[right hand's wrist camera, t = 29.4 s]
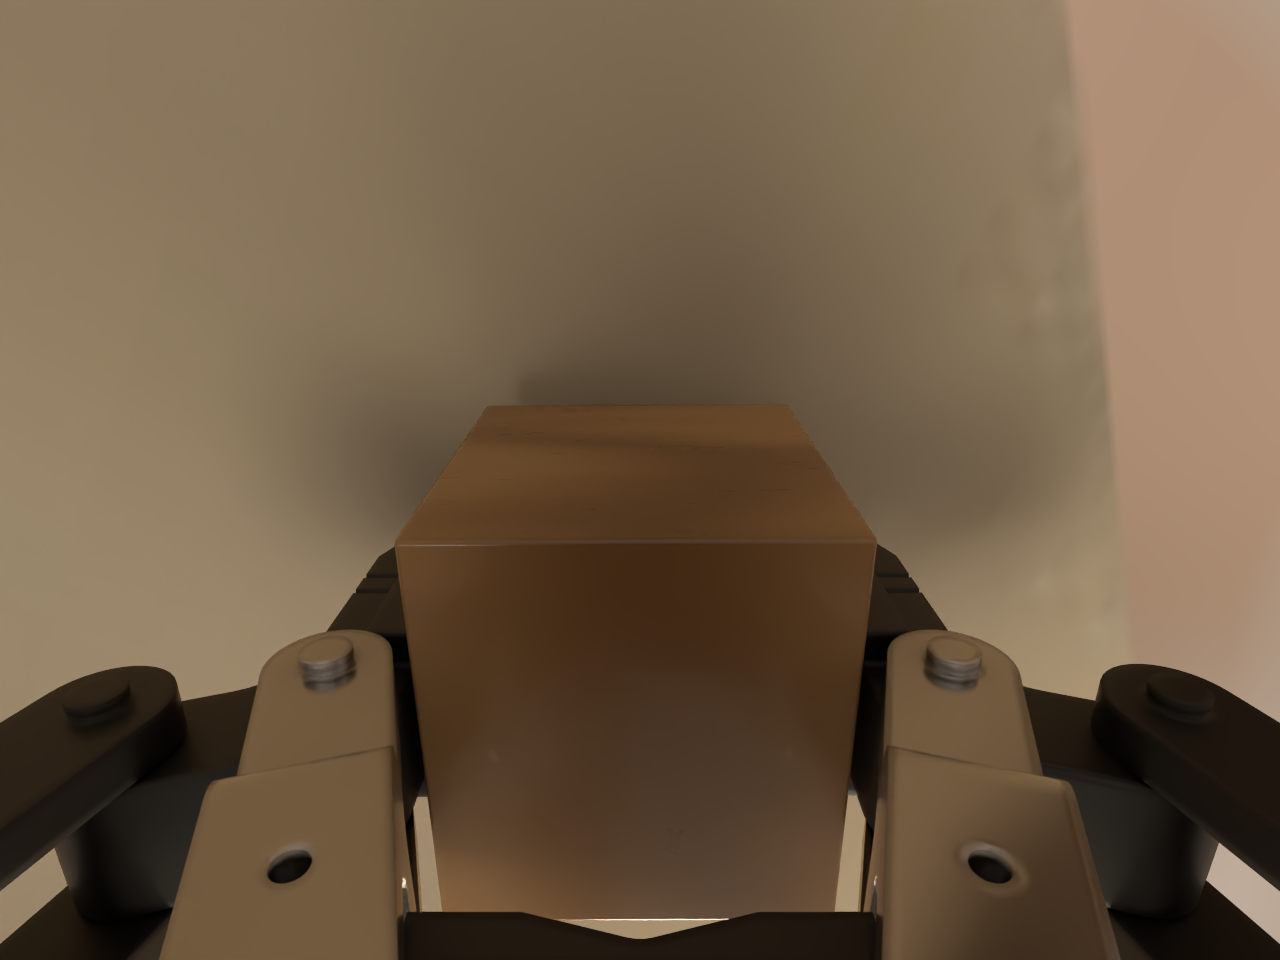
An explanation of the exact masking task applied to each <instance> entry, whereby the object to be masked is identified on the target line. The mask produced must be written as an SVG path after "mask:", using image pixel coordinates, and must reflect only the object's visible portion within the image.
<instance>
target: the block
mask: <svg viewBox="0 0 1280 960" xmlns="http://www.w3.org/2000/svg"><path fill="white" fill-rule="evenodd" d="M876 548H877V540H876V537H875V536H874V534H873V533H872V531H871V530H870V528H869V527H868V525H867V524H866V522H865V521H864V519H863V518H862V516H861V515H860V513H859V512H858V510H857V509H856V507H855V506H854V504H853V503H852V501H851V500H850V498H849V497H848V495H847V494H846V492H845V491H844V489H843V488H842V486H841V485H840V483H839V482H838V481H837V479H836V478H835V476H834V475H833V473H832V472H831V470H830V469H829V467H828V466H827V464H826V463H825V461H824V460H823V458H822V457H821V455H820V454H819V452H818V451H817V449H816V448H815V446H814V445H813V443H812V442H811V440H810V439H809V437H808V436H807V434H806V433H805V431H804V430H803V428H802V427H801V425H800V424H799V422H798V421H797V419H796V418H795V416H794V415H793V413H792V412H791V410H790V409H789V407H788V406H787V405H610V406H489V407H487V408H486V410H485V411H484V413H483V414H482V416H481V417H480V418H479V420H478V421H477V423H476V424H475V426H474V427H473V429H472V430H471V432H470V433H469V434H468V436H467V437H466V439H465V440H464V442H463V443H462V445H461V446H460V448H459V449H458V450H457V452H456V453H455V455H454V456H453V458H452V459H451V461H450V462H449V464H448V465H447V466H446V468H445V469H444V471H443V472H442V474H441V475H440V477H439V478H438V479H437V481H436V482H435V484H434V485H433V487H432V488H431V490H430V491H429V493H428V494H427V495H426V497H425V498H424V500H423V501H422V503H421V504H420V506H419V507H418V509H417V510H416V511H415V513H414V514H413V516H412V517H411V519H410V520H409V522H408V523H407V525H406V526H405V527H404V529H403V530H402V532H401V533H400V535H399V536H398V538H397V539H396V541H395V551H396V559H397V567H398V574H399V582H400V590H401V597H402V605H403V613H404V620H405V628H406V636H407V643H408V651H409V658H410V666H411V674H412V681H413V689H414V697H415V704H416V712H417V720H418V727H419V735H420V743H421V750H422V758H423V766H424V773H425V781H426V789H427V796H428V804H429V812H430V819H431V827H432V835H433V842H434V850H435V857H436V865H437V873H438V880H439V888H440V896H441V903H442V911H443V912H524V913H528V914H532V915H537V916H541V917H545V918H549V919H553V920H557V921H597V920H727V919H731V918H735V917H739V916H743V915H748V914H752V913H756V912H835V903H836V895H837V886H838V877H839V869H840V860H841V851H842V843H843V834H844V825H845V817H846V808H847V799H848V791H849V782H850V773H851V765H852V756H853V747H854V738H855V730H856V721H857V712H858V704H859V695H860V686H861V678H862V669H863V660H864V652H865V643H866V634H867V626H868V617H869V608H870V600H871V591H872V582H873V574H874V565H875V556H876Z"/></svg>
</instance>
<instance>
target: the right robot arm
mask: <svg viewBox="0 0 1280 960" xmlns="http://www.w3.org/2000/svg"><path fill="white" fill-rule="evenodd" d="M366 575H367V577H366V578H364V579H363V580H362V582H361V583H360V584H359V586H358V587H357V589H356V593H353V594H352V596H351V597H350V599H349V600H348V602H347V603H346V604H345V606H344V607H343V609H342V610H341V612H340V613H339V614H338V616H337V617H336V619H335V620H334V622H333V623H332V624H331V626H330V627H329V629H328V630H327V632H324V633H319V634H315V635H312V636H308V637H306V638H303V639H300V640H298V641H296V642H294V643H292V644H289V645H288V646H286V647H284V648H283V649H281V650H280V651H278V652H277V653H276V654H274V655H273V656H272V657H271V658H270V659H269V660H268V661H267V662H266V664H265V665H264V666H263V668H262V670H261V673H260V677H259V681H258V685H256V686H253V687H250V688H246V689H242V690H238V691H233V692H228V693H223V694H218V695H212V696H207V697H202V698H197V699H191V700H186V701H181V698H180V694H179V690H178V686H177V682H176V680H175V677H174V676H173V675H172V674H171V673H170V672H168V671H166V670H164V669H161V668H157V667H150V666H129V667H120V668H114V669H109V670H105V671H101V672H97V673H94V674H91V675H88V676H84V677H82V678H79V679H77V680H74V681H72V682H69V683H67V684H65V685H63V686H61V687H59V688H57V689H55V690H54V691H52V692H50V693H48V694H47V695H45V696H43V697H42V698H40V699H38V700H37V701H35V702H33V703H32V704H30V705H29V706H27V707H25V708H24V709H22V710H20V711H19V712H17V713H16V714H14V715H12V716H11V717H9V718H7V719H6V720H4V721H3V722H1V723H0V891H1V890H2V889H3V888H5V887H6V886H7V885H8V884H10V883H11V882H12V881H13V880H15V879H16V878H17V877H18V876H20V875H21V874H22V873H23V872H25V871H26V870H27V869H28V868H30V867H31V866H32V865H33V864H35V863H36V862H37V861H38V860H39V859H41V858H42V857H43V856H44V855H46V854H47V853H48V852H49V851H51V850H52V849H53V848H55V850H56V853H57V856H58V859H59V862H60V865H61V867H62V870H63V873H64V876H65V879H66V882H67V884H68V886H67V887H66V888H64V889H63V890H62V891H61V892H60V893H59V894H57V895H56V896H55V897H54V898H53V899H52V900H51V901H49V902H48V903H47V904H46V905H45V906H44V907H42V908H41V909H40V910H39V911H38V912H37V913H36V914H34V915H33V916H32V917H31V918H30V919H29V920H27V921H26V922H25V923H24V924H23V925H22V926H21V927H19V928H18V929H17V930H16V931H15V932H14V933H12V934H11V935H10V936H9V937H8V938H7V939H6V940H4V941H3V942H2V943H1V944H0V960H1280V944H1279V943H1278V942H1277V941H1276V940H1274V939H1273V938H1272V937H1271V936H1270V935H1269V934H1268V933H1266V932H1265V931H1264V930H1263V929H1262V928H1261V927H1259V926H1258V925H1257V924H1256V923H1255V922H1254V921H1253V920H1251V919H1250V918H1249V917H1248V916H1247V915H1246V914H1244V913H1243V912H1242V911H1241V910H1240V909H1239V908H1238V907H1236V906H1235V905H1234V904H1233V903H1232V902H1231V901H1229V900H1228V899H1227V898H1226V897H1225V896H1224V895H1222V894H1221V893H1220V892H1219V891H1218V890H1217V889H1216V888H1214V887H1213V886H1212V885H1211V884H1210V883H1209V882H1207V881H1206V878H1207V875H1208V873H1209V870H1210V867H1211V864H1212V861H1213V858H1214V855H1215V852H1216V850H1217V846H1218V844H1219V843H1221V844H1222V845H1223V846H1224V847H1226V848H1227V849H1228V850H1229V851H1231V852H1232V853H1233V854H1234V855H1236V856H1237V857H1238V858H1239V859H1241V860H1242V861H1243V862H1244V863H1246V864H1247V865H1248V866H1249V867H1250V868H1252V869H1253V870H1254V871H1255V872H1257V873H1258V874H1259V875H1260V876H1262V877H1263V878H1264V879H1265V880H1267V881H1268V882H1269V883H1270V884H1272V885H1273V886H1274V887H1275V888H1276V889H1278V890H1279V891H1280V723H1279V722H1277V721H1276V720H1274V719H1273V718H1271V717H1269V716H1268V715H1266V714H1264V713H1263V712H1261V711H1260V710H1258V709H1256V708H1255V707H1253V706H1251V705H1250V704H1248V703H1246V702H1245V701H1243V700H1242V699H1240V698H1238V697H1237V696H1235V695H1233V694H1232V693H1230V692H1229V691H1227V690H1225V689H1223V688H1221V687H1220V686H1218V685H1216V684H1214V683H1212V682H1209V681H1207V680H1205V679H1203V678H1200V677H1197V676H1195V675H1192V674H1189V673H1186V672H1183V671H1180V670H1176V669H1171V668H1167V667H1162V666H1156V665H1147V664H1127V665H1120V666H1117V667H1113V668H1111V669H1109V670H1108V671H1106V672H1105V673H1104V674H1103V676H1102V678H1101V680H1100V684H1099V688H1098V692H1097V696H1096V700H1095V701H1093V700H1088V699H1083V698H1077V697H1072V696H1067V695H1061V694H1056V693H1051V692H1046V691H1040V690H1036V689H1032V688H1027V687H1024V686H1023V685H1022V681H1021V677H1020V673H1019V670H1018V668H1017V666H1016V665H1015V664H1014V662H1013V661H1012V660H1011V659H1010V658H1009V657H1008V656H1007V655H1006V654H1004V653H1003V652H1002V651H1000V650H999V649H997V648H996V647H994V646H992V645H991V644H988V643H986V642H984V641H982V640H980V639H977V638H974V637H972V636H968V635H965V634H961V633H956V632H951V631H948V630H947V629H946V627H945V626H944V624H943V623H942V621H941V620H940V618H939V617H938V615H937V614H936V613H935V611H934V610H933V608H932V607H931V605H930V604H929V602H928V601H927V600H926V598H925V597H924V595H923V594H922V593H919V588H918V587H917V585H916V584H915V582H914V581H913V579H912V578H911V577H909V573H908V572H907V571H906V569H905V568H904V566H903V565H902V563H901V562H900V560H899V559H898V558H897V556H896V555H894V554H893V553H891V552H889V551H888V550H886V549H885V548H883V547H881V546H880V545H878V544H877V548H876V556H875V565H874V574H873V582H872V591H871V600H870V608H869V617H868V626H867V634H866V643H865V652H864V660H863V669H862V678H861V686H860V695H859V704H858V712H857V721H856V730H855V738H854V747H853V756H852V765H851V773H850V782H849V791H848V796H857V797H858V800H859V803H860V805H861V808H862V811H863V814H864V816H865V826H864V833H863V843H862V857H861V872H860V887H859V902H858V912H756V913H752V914H748V915H743V916H739V917H735V918H731V919H727V920H723V921H719V922H715V923H711V924H707V925H703V926H699V927H694V928H690V929H686V930H682V931H678V932H674V933H670V934H666V935H662V936H658V937H654V938H648V939H632V938H626V937H622V936H618V935H614V934H610V933H606V932H602V931H598V930H594V929H590V928H586V927H581V926H577V925H573V924H569V923H565V922H561V921H557V920H553V919H549V918H545V917H541V916H537V915H532V914H528V913H524V912H422V902H421V887H420V872H419V857H418V843H417V833H416V826H415V818H414V811H413V807H414V805H415V802H416V799H417V797H428V796H427V789H426V781H425V773H424V766H423V758H422V750H421V743H420V735H419V727H418V720H417V712H416V704H415V697H414V689H413V681H412V674H411V666H410V658H409V651H408V643H407V636H406V628H405V620H404V613H403V605H402V597H401V590H400V582H399V574H398V567H397V559H396V551H395V547H393V548H392V549H390V550H389V551H387V552H386V553H384V554H382V555H381V556H379V557H378V559H377V560H376V562H375V563H374V564H373V566H372V567H371V569H370V570H369V572H368V573H367V574H366Z"/></svg>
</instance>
